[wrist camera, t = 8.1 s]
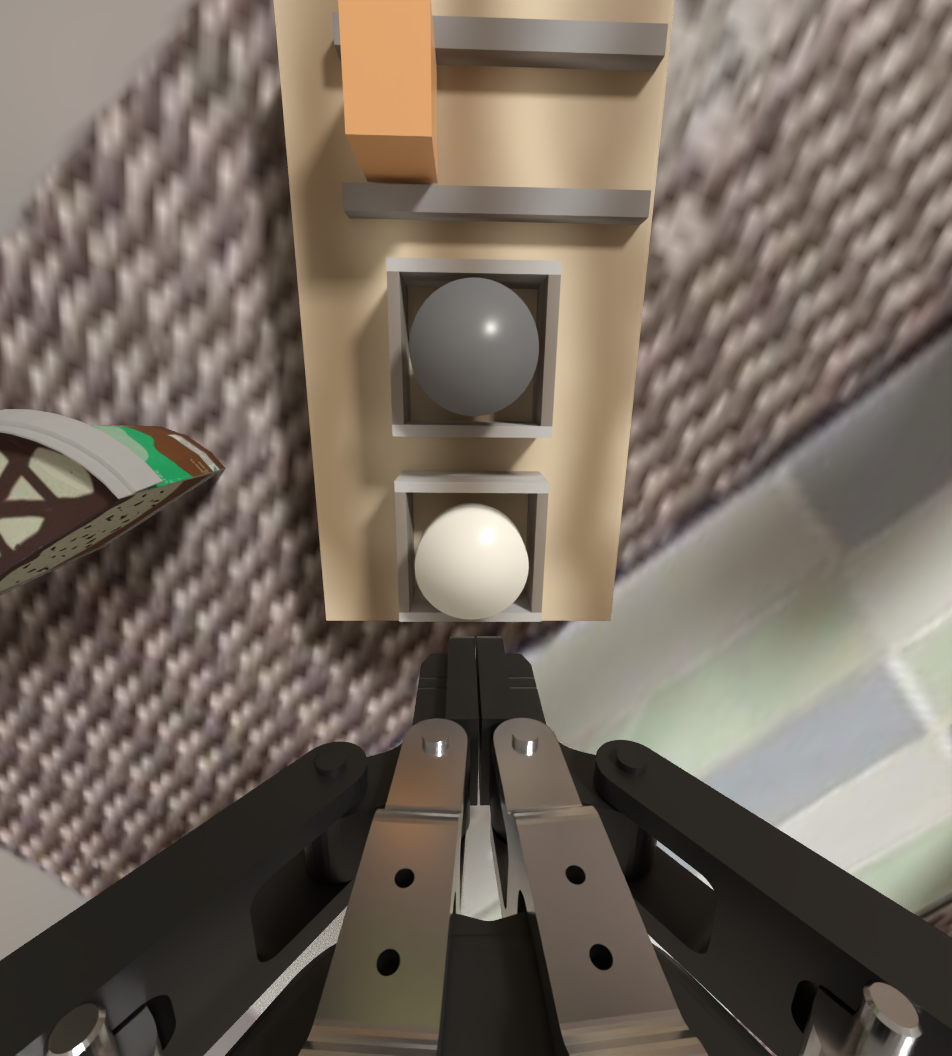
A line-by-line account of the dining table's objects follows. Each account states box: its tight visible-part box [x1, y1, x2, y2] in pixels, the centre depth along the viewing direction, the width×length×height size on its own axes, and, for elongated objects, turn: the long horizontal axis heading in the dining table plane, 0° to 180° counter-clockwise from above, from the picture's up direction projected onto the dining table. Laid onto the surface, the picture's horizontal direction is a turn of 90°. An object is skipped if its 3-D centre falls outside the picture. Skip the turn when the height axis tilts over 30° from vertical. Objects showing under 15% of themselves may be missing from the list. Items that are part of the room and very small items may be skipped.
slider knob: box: [338, 0, 438, 183], centre depth 18 cm, size 3×4×4 cm
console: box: [274, 0, 674, 622], centre depth 23 cm, size 16×28×7 cm, turn 179°
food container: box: [0, 409, 225, 595], centre depth 23 cm, size 12×6×10 cm, turn 121°
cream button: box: [415, 503, 529, 620], centre depth 22 cm, size 5×5×2 cm
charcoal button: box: [409, 277, 539, 416], centre depth 19 cm, size 5×5×2 cm
